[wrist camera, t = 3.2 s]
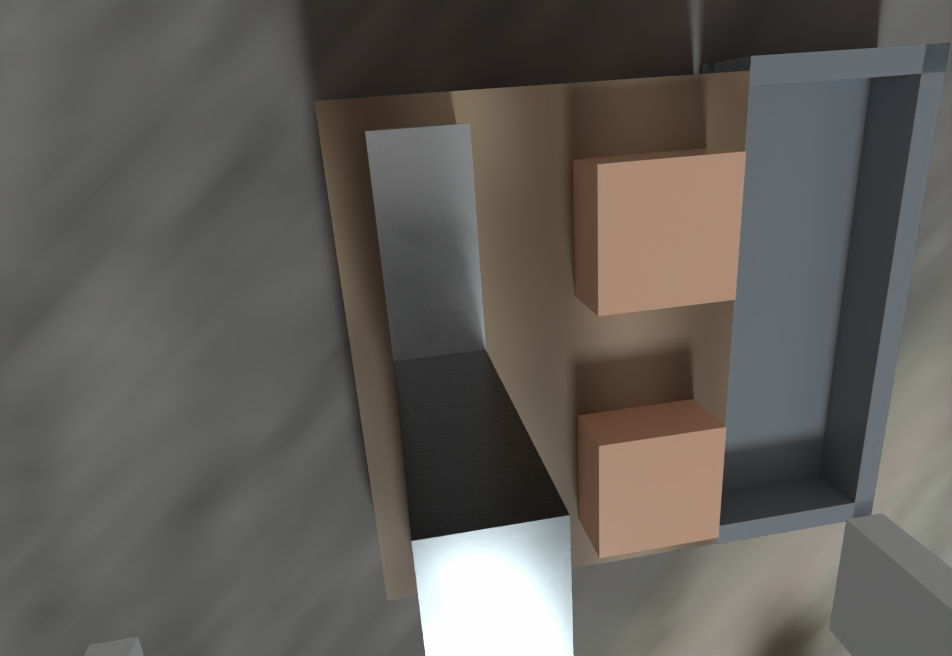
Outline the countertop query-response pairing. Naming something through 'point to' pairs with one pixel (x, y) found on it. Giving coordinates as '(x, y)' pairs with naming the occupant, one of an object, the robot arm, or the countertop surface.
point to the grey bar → (462, 418)
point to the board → (531, 271)
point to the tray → (822, 277)
